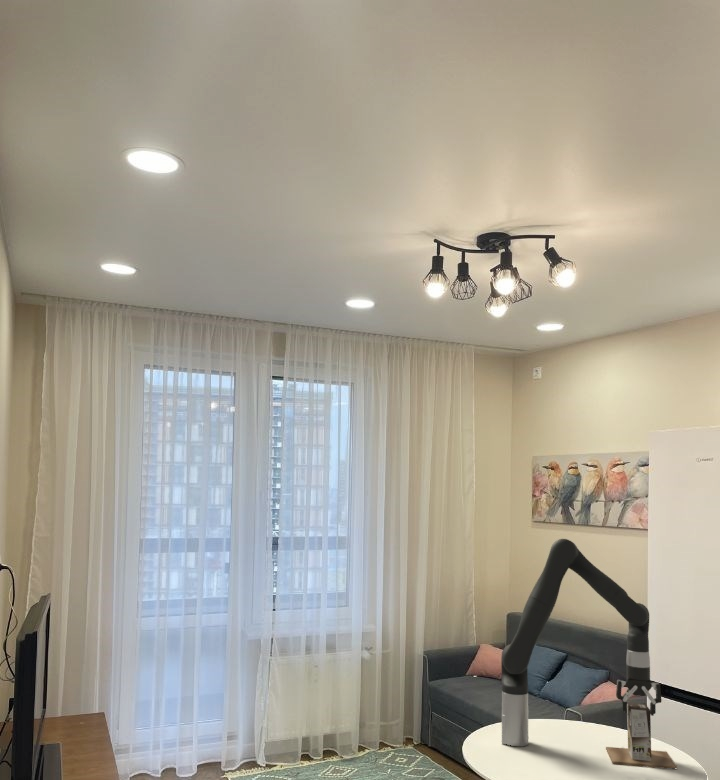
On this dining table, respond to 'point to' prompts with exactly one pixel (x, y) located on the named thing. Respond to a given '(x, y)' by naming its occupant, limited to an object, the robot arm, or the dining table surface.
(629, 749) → the coffee box
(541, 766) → the dining table surface
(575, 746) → the dining table surface
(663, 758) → the walnut board
